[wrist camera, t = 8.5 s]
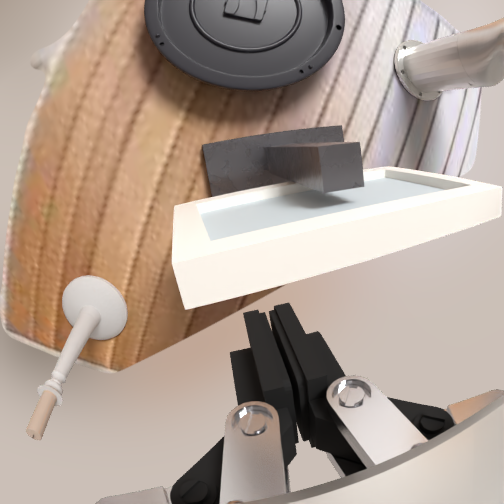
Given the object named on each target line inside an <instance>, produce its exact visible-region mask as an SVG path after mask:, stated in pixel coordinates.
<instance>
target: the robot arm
mask: <svg viewBox="0 0 504 504" xmlns="http://www.w3.org/2000/svg"><path fill="white" fill-rule="evenodd" d="M394 63H395V69H396V72H397V75H398V77H399V79H400V81H401V83H402V84H403V86H404V87H405V88H406V90H407V91H408V92H409V93H410V94H411V95H413V96H414V97H416V98H418V99H420V100H424V101H428V100H434V99H436V98H438V97H439V96H440V95H441V93H442V91H446V90H455V89H466V88H478V87H489V86H494V85H496V84H498V83H500V81H502V80H503V78H504V18H502V19H499V20H497V21H495V22H492V23H490V24H487V25H484V26H481V27H478V28H475V29H471V30H467V31H463V32H460V33H456V34H453V35H449V36H446V37H442V38H439V39H436V40H433V41H430V42H427V43H422V42H420V41H417V40H408V41H405V42H403V43H401V44H400V45H399V46H398V48H397V50H396V52H395V57H394ZM243 314H244V319H245V323H246V328H247V333H248V338H249V342H250V346H251V348H247V349H243V350H238V351H233V352H230V357H231V363H232V370H233V377H234V383H235V389H236V395H237V401H238V406H237V407H235V408H234V409H233V410H232V411H231V412H230V413H229V415H228V416H227V419H226V424H225V436H224V437H223V438H222V439H221V440H220V441H219V442H218V443H217V444H216V445H215V446H214V447H213V448H212V449H211V450H210V451H209V452H208V453H206V454H205V456H203V457H202V458H201V459H200V460H199V461H198V462H197V463H196V464H195V465H194V466H193V467H192V468H191V469H190V470H188V471H187V472H186V473H185V474H184V475H183V476H182V477H181V478H180V479H179V480H177V482H176V483H175V484H174V485H173V486H172V487H168V488H163V487H162V486H160V487H156V488H152V489H147V490H143V491H138V492H132V493H127V494H122V495H115V496H109V497H105V498H102V499H100V500H99V501H98V502H97V503H96V504H504V391H503V390H498V389H496V390H491V391H489V392H486V393H483V394H481V395H478V396H475V397H472V398H470V399H467V400H464V401H461V402H458V403H455V404H451V405H449V406H448V407H447V409H441V408H438V407H433V406H428V405H422V404H417V403H412V402H407V401H402V400H398V399H393V398H388V397H386V396H385V395H384V394H383V393H382V392H381V391H380V390H379V389H378V388H377V387H376V386H375V385H374V383H373V382H371V381H370V380H369V379H367V378H364V377H361V376H354V375H353V376H345V374H344V372H343V370H342V369H341V367H340V365H339V364H338V362H337V361H336V359H335V357H334V355H333V354H332V352H331V350H330V349H329V347H328V345H327V344H326V342H325V340H324V339H323V337H322V335H321V334H320V333H319V332H318V331H317V332H313V333H310V334H306V333H305V331H304V330H303V328H302V326H301V324H300V322H299V320H298V318H297V316H296V315H295V313H294V311H293V309H292V307H291V305H290V304H289V303H285V304H281V305H276V306H274V310H272V311H269V314H270V321H271V327H272V330H271V328H270V325H269V323H268V320H267V317H266V314H265V312H264V313H259V311H258V310H254V311H249V312H245V313H243ZM296 422H297V424H296ZM297 425H298V428H299V431H300V434H301V437H302V439H303V441H307V440H309V442H310V444H311V447H312V448H313V447H316V449H319V450H322V451H325V452H326V454H327V456H328V458H329V460H330V461H331V463H332V465H333V466H334V468H335V469H336V471H337V472H338V474H339V475H340V477H341V478H340V479H337V480H334V481H331V482H327V483H324V484H321V485H318V486H314V487H311V488H307V489H303V490H300V491H296V492H290V481H289V470H288V465H289V464H290V462H291V461H292V460H293V458H294V457H295V456H296V454H297V453H296V446H295V444H296V443H298V442H299V441H298V433H297Z"/></svg>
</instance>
